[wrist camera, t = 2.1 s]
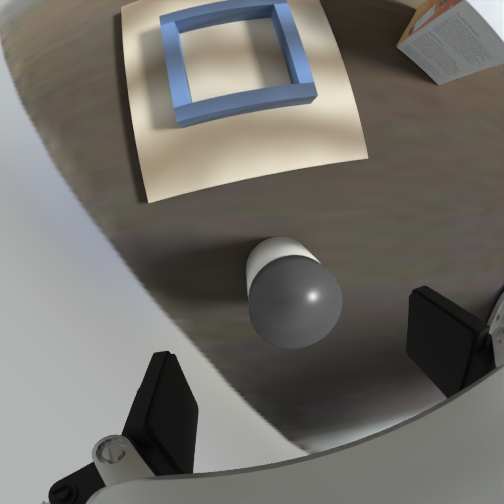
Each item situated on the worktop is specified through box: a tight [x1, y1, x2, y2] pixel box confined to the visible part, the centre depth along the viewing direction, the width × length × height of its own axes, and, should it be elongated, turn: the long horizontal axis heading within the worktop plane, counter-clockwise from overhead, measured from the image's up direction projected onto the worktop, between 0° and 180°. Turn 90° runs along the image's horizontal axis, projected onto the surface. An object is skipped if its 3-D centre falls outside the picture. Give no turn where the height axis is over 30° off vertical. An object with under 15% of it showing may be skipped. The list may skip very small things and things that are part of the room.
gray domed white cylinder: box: [246, 237, 343, 349], centre depth 18 cm, size 5×5×7 cm
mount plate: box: [121, 0, 368, 203], centre depth 16 cm, size 18×16×3 cm
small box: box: [396, 0, 504, 85], centre depth 12 cm, size 8×6×10 cm
